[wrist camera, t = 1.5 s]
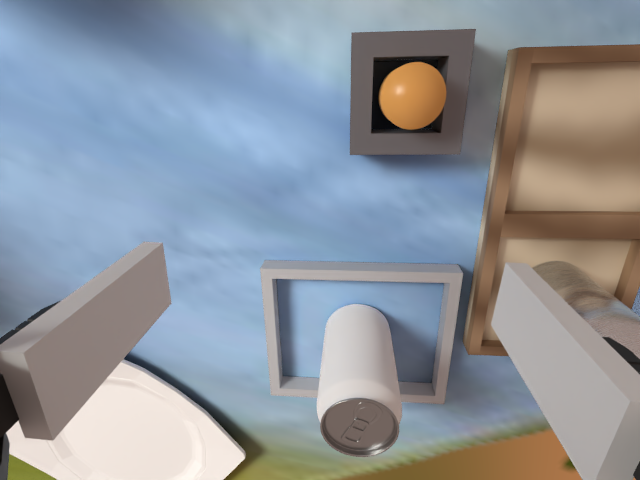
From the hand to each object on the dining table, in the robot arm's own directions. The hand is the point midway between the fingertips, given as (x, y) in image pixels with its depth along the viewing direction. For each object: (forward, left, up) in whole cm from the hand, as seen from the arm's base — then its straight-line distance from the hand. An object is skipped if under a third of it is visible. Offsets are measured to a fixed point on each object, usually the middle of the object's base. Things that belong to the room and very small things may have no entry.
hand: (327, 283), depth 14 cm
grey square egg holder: (-7, +5, -19) cm, 20 cm away
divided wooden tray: (+3, +19, -19) cm, 27 cm away
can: (+15, +2, -19) cm, 25 cm away
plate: (+32, -26, -19) cm, 46 cm away
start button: (-7, +5, -17) cm, 19 cm away
